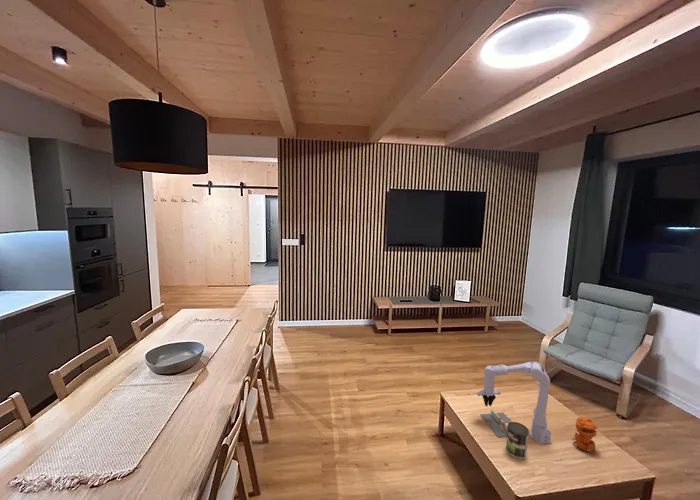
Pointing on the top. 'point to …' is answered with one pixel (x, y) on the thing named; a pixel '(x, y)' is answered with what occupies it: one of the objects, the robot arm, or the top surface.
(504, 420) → the card
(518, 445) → the coffee can
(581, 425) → the toy dinosaur
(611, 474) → the top surface
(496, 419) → the fence gate
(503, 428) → the fixed fence
